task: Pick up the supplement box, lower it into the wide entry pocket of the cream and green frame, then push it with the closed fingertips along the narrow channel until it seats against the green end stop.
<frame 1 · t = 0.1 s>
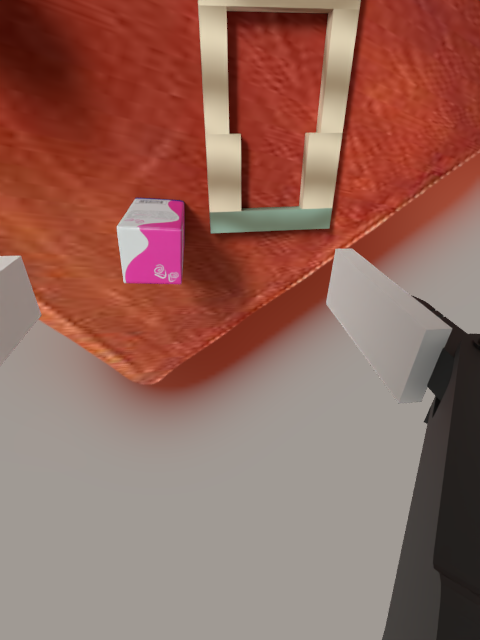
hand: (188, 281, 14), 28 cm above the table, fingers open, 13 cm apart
supplement box: (161, 223, 40), on the table
cream and green frame: (273, 122, 35), on the table
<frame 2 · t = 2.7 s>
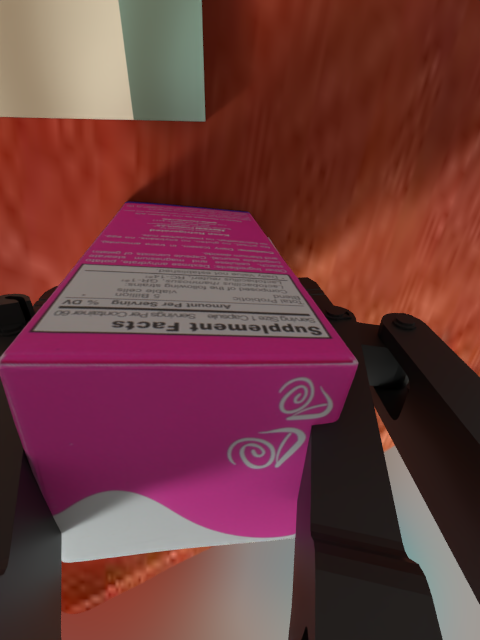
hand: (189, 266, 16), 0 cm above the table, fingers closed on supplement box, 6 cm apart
supplement box: (189, 262, 16), on the table, touching gripper
when the fingers open (1 cm above the table, at t = 7.7 s): supplement box stays where it is, resting in cream and green frame.
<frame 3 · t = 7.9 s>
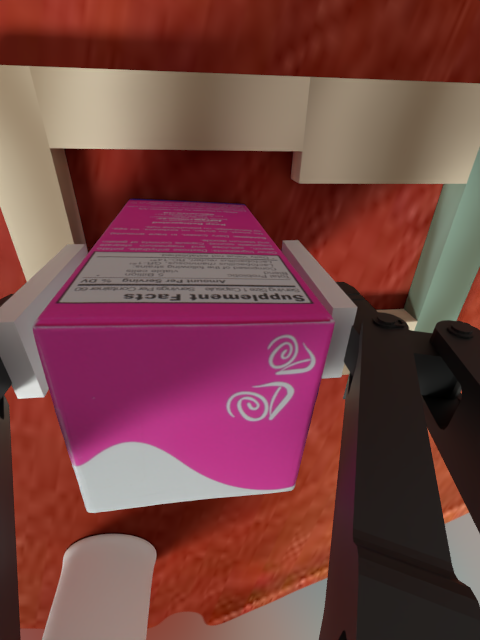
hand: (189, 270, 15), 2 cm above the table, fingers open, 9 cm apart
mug: (103, 560, 32), on the table
supplement box: (190, 254, 17), resting in cream and green frame
cream and green frame: (265, 254, 17), on the table
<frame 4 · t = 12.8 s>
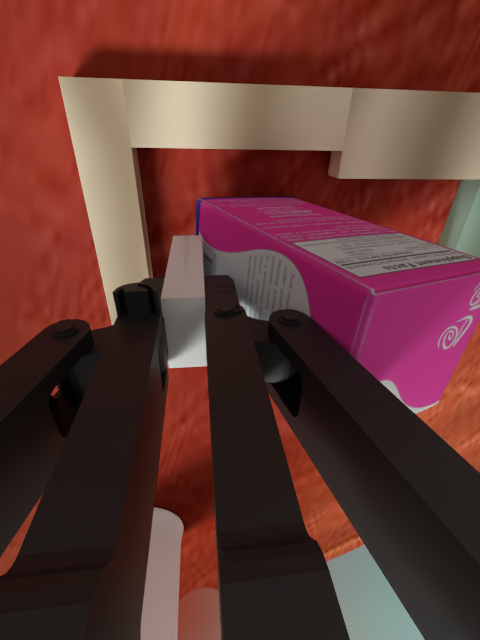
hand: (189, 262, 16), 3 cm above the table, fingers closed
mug: (133, 533, 34), on the table
supplement box: (242, 246, 18), point 1 cm above the table, touching gripper, hand
cream and green frame: (301, 242, 19), on the table
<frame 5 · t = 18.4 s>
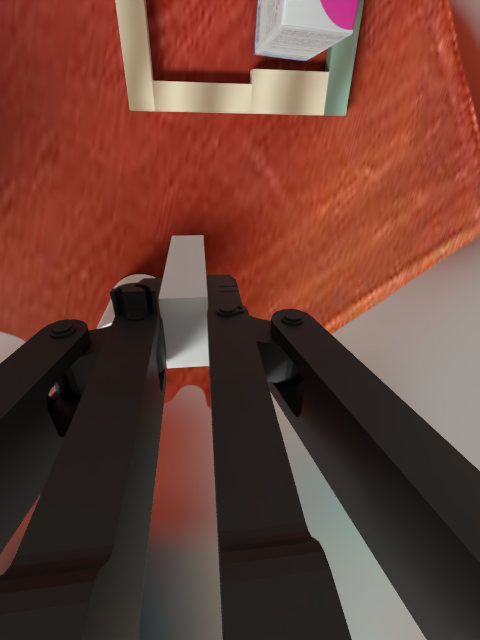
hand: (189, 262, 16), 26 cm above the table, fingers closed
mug: (136, 308, 46), on the table
supplement box: (284, 22, 32), resting in cream and green frame
cream and green frame: (241, 22, 32), on the table
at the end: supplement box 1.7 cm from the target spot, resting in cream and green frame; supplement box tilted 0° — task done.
